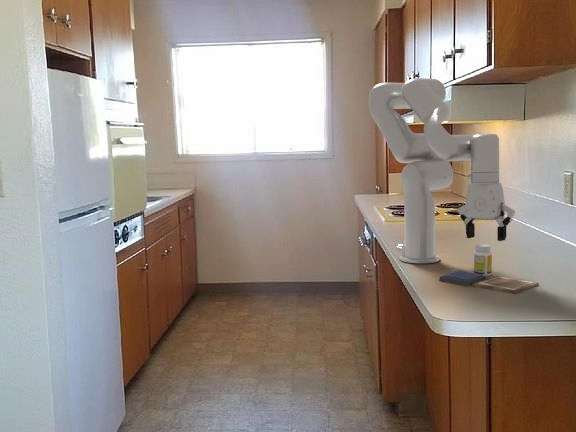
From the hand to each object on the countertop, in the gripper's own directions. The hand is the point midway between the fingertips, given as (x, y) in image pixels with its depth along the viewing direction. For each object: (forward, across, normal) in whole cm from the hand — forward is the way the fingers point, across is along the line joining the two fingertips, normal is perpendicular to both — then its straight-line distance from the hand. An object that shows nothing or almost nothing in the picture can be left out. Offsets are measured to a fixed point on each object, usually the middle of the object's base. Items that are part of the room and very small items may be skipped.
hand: (485, 239), depth 172 cm
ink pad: (+10, -1, -10) cm, 14 cm away
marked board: (+11, +10, -7) cm, 16 cm away
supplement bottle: (+10, -1, 0) cm, 11 cm away
